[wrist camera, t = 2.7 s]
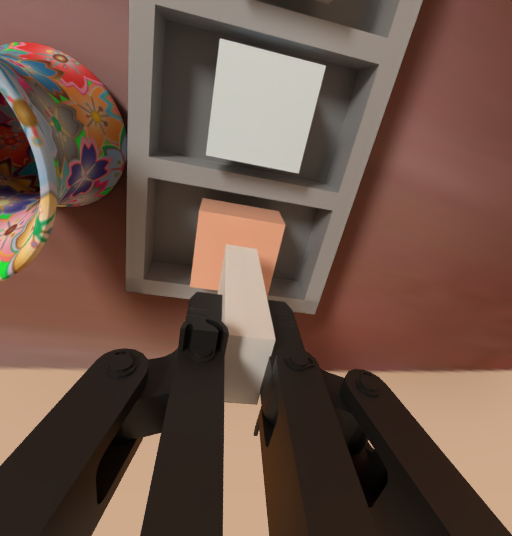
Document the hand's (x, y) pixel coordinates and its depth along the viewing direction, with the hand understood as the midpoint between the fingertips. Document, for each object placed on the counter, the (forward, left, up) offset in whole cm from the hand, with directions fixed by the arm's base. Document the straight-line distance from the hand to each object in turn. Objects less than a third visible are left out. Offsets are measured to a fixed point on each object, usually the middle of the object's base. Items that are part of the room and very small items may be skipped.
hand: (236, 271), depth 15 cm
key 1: (0, 0, -4) cm, 4 cm away
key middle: (-7, 0, -4) cm, 8 cm away
